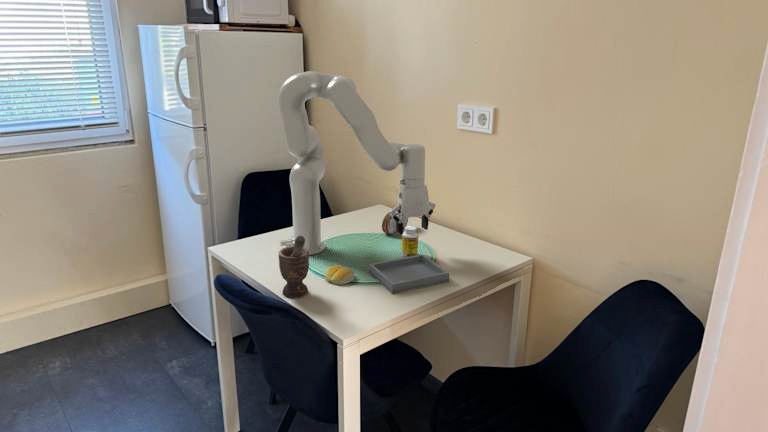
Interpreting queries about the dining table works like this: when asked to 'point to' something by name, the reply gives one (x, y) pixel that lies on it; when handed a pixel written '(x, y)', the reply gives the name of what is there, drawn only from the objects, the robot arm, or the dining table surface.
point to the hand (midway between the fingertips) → (412, 230)
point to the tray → (408, 273)
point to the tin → (391, 224)
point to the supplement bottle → (409, 242)
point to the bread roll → (339, 275)
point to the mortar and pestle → (294, 268)
